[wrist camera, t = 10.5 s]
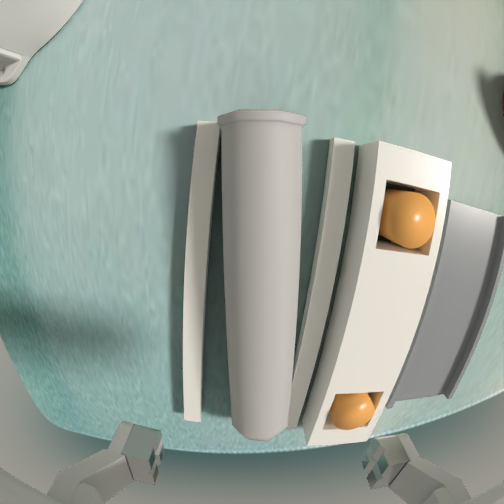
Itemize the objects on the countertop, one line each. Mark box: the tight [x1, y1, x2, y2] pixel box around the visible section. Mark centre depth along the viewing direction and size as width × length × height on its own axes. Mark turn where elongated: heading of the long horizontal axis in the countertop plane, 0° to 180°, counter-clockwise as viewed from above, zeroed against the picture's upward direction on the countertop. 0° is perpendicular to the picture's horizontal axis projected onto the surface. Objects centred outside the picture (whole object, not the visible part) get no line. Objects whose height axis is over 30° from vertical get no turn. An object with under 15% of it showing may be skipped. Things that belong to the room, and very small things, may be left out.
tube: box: [217, 110, 306, 442], centre depth 20 cm, size 5×5×25 cm
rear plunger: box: [330, 393, 375, 430], centre depth 22 cm, size 4×4×4 cm
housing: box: [183, 121, 452, 446], centre depth 21 cm, size 17×25×4 cm
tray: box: [385, 200, 504, 409], centre depth 22 cm, size 9×20×2 cm, turn 174°
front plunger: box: [378, 189, 436, 249], centre depth 18 cm, size 4×4×4 cm
